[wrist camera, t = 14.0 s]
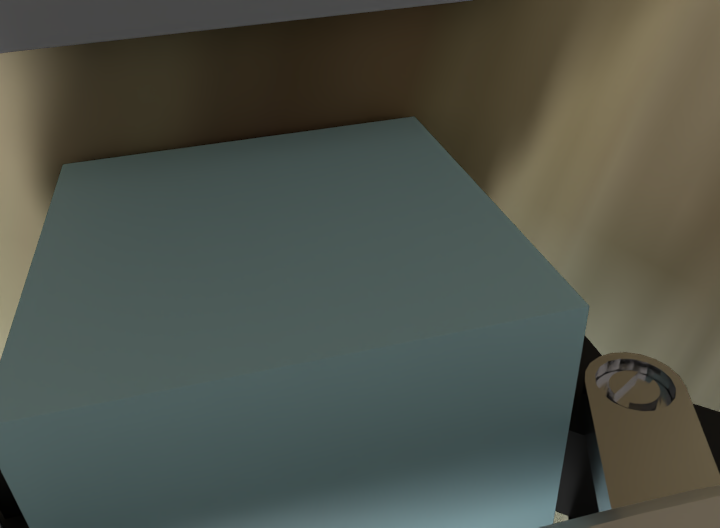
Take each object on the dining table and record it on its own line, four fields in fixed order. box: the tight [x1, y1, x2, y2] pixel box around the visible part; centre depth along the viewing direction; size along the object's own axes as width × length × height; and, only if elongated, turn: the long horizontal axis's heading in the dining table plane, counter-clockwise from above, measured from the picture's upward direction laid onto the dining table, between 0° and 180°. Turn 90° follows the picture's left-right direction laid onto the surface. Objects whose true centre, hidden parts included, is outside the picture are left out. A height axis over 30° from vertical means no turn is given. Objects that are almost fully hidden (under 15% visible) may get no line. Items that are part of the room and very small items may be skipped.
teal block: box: [0, 116, 589, 528], centre depth 11 cm, size 6×6×6 cm
